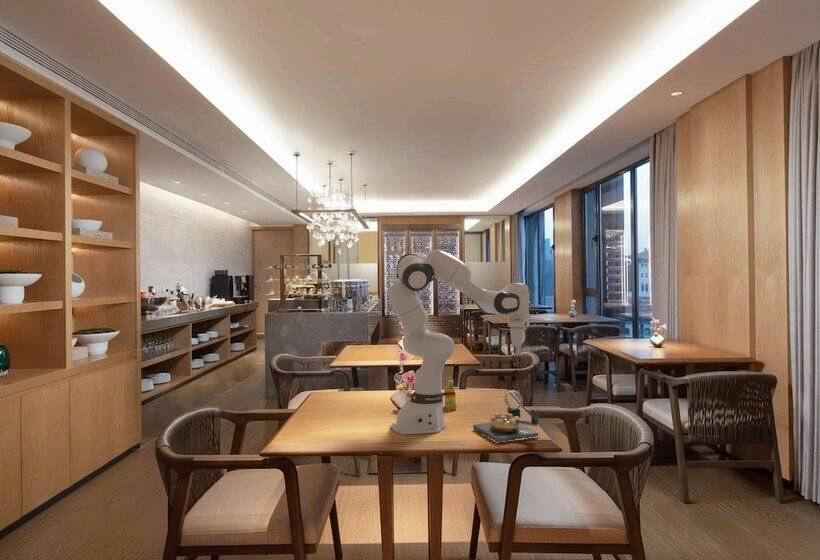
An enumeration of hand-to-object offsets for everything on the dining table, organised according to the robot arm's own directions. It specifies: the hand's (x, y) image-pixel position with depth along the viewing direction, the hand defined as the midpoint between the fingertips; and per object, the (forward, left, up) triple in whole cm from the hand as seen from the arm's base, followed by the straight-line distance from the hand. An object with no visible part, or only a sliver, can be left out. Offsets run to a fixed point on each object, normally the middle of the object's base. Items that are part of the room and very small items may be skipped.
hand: (518, 354), depth 198 cm
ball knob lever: (-10, -11, -27) cm, 31 cm away
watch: (+6, +12, -29) cm, 32 cm away
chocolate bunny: (-16, +34, -29) cm, 48 cm away
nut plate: (-12, -8, -29) cm, 32 cm away
